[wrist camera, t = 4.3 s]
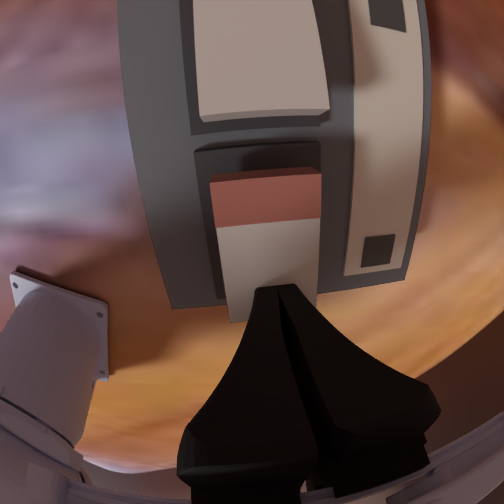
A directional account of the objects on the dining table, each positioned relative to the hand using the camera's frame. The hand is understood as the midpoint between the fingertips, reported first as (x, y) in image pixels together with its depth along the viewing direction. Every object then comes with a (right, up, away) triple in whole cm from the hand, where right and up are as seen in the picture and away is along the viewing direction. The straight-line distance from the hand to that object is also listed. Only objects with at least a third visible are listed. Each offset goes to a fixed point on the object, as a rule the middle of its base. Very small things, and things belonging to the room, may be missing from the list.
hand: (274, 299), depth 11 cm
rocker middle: (-1, +8, -5) cm, 9 cm away
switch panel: (0, +11, -1) cm, 11 cm away
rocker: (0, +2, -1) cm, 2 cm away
